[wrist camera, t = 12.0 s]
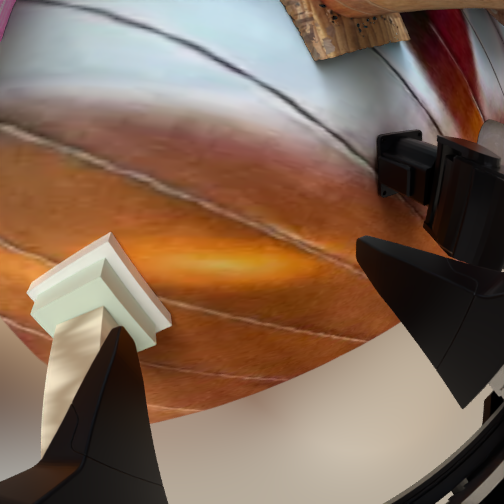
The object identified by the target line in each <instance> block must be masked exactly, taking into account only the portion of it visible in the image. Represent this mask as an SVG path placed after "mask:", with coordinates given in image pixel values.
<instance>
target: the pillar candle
mask: <svg viewBox="0 0 504 504" xmlns="http://www.w3.org/2000/svg"><path fill="white" fill-rule="evenodd" d="M477 144H479V145H482V146H483V147H485V148H487V149H488V150H490V151H491V152H493V153H494V154H496V155H497V156H499V157H500V158H501V163H500V164H501V165H503V166H504V124H502V123H500V122H497V121H494V120H487V121H486V122H485V123H484V124H483V126H482V128H481V131H480V133H479V137H478V142H477Z"/></svg>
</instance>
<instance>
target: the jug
mask: <svg viewBox="0 0 504 504" xmlns="http://www.w3.org/2000/svg"><path fill="white" fill-rule="evenodd" d="M485 9H486V10H487V11H488V12H489V13H490V14H491V15H492V16H493V17H494V18H495V19H496V20H497V21H498V22H500V23H501V24H502V25H503V26H504V10H497V9H487V8H485Z"/></svg>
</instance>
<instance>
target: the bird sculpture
mask: <svg viewBox="0 0 504 504" xmlns="http://www.w3.org/2000/svg"><path fill="white" fill-rule="evenodd" d="M280 1H281V2H282V3H283V5H285V6H286V9H287V12H288V14H289V15H290V14H291V16H292V17H293V18H294V19H295V20H293V19H292V20H293V22H294V25H295V26H296V27H298V28H299V32H301V33H300V35H301V36H302V37H303V39H304V43H305V45H306V47H307V48H308V50H309V52H311V55H312V57H313V58H314V60H315V61H317V60H319V59H320V60H324V59H328V58H333V57H336V56H339V55H343V54H345V53H346V52H347V53H351V52H354V51H356V50H358V49H359V50H361V49H362V48H364V49H366V48H367V47H368V48H370V47H373V46H381V45H384V44H388V43H389V42H390V41H391V43H392V42H394V43H396V42H398V41H406V40H410V38H409V35H408V32H407V30H406V27H405V25H404V23H403V20H402V18H401V16H400V14H399V13H400V12H409V11H419V10H438V9H463V8H487V9H497V10H504V0H280ZM322 4H325V5H326V7H321V6H319V5H322ZM337 14H339V16H340V17H339V16H338V15H337ZM333 16H337V18H338V19H335V20H332V18H333ZM374 16H375V17H376V19H377V20H373V17H374ZM381 16H383V17H382V19H381ZM331 17H332V18H331ZM350 18H352V20H351V19H350ZM384 18H385V19H386V20H384ZM366 19H369V21H368V22H367V20H366ZM332 21H334V23H332ZM390 21H391V22H390ZM370 22H371V23H370ZM357 23H358V24H360V26H359V27H357ZM363 23H364V24H363ZM374 23H375V24H374ZM393 24H394V25H395V26H394V25H393ZM364 26H367V28H364ZM358 28H360V29H361V30H362V31H361V32H359V30H358ZM396 33H397V35H396ZM363 36H365V37H363ZM397 39H398V40H397ZM389 40H390V41H389Z"/></svg>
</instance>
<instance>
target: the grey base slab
mask: <svg viewBox="0 0 504 504" xmlns="http://www.w3.org/2000/svg"><path fill="white" fill-rule="evenodd" d="M103 258H106V259H107V261H108V262H109V264H110V265H111V267H112V268H113V270H114V271H115V272H116V274H117V275H118V277H119V278H120V279H121V281H122V282H123V284H124V285H125V286H126V288H127V289H128V290H129V292H130V293H131V294H132V296H133V297H134V298H135V300H136V301H137V302H138V303H139V305H140V306H141V307H142V309H143V310H144V311H145V312H146V314H147V315H148V316H149V317H150V319H151V320H152V321H153V322H154V323H155V330H156V333H157V332H159V331H161V330H163V329H166V328H168V327H170V326H172V321H171V314H170V313H169V311H168V310H167V309H166V308H165V306H164V305H163V304H162V303H161V301H160V300H159V299H158V297H157V296H156V295H155V293H154V292H153V291H152V289H151V288H150V287H149V285H148V284H147V283H146V281H145V280H144V279H143V277H142V276H141V275H140V273H139V272H138V270H137V269H136V268H135V266H134V265H133V263H132V262H131V260H130V259H129V258H128V256H127V255H126V253H125V252H124V250H123V249H122V247H121V246H120V244H119V243H118V241H117V240H116V238H115V237H114V235H113V234H112V232H109V233H108V234H106V235H104V236H103V237H101V238H99V239H98V240H96V241H94V242H93V243H91V244H89V245H88V246H86V247H84V248H83V249H81V250H80V251H78V252H76V253H75V254H73V255H72V256H70V257H69V258H67V259H66V260H64V261H62V262H61V263H59V264H58V265H56V266H55V267H53V268H52V269H50V270H49V271H47V272H46V273H44V274H43V275H42V276H40V277H39V278H37V279H36V280H34V281H33V282H32V283H31V285H30V287H29V289H28V291H27V294H28V295H29V296H30V298H31V299H32V300H33V301H34V302H35V301H36V299H37V296H38V295H39V294H40V293H42V292H44V291H45V290H47V289H49V288H50V287H52V286H54V285H56V284H57V283H59V282H61V281H63V280H64V279H66V278H68V277H70V276H72V275H73V274H75V273H77V272H79V271H81V270H83V269H84V268H86V267H88V266H90V265H92V264H94V263H95V262H97V261H99V260H101V259H103Z"/></svg>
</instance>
